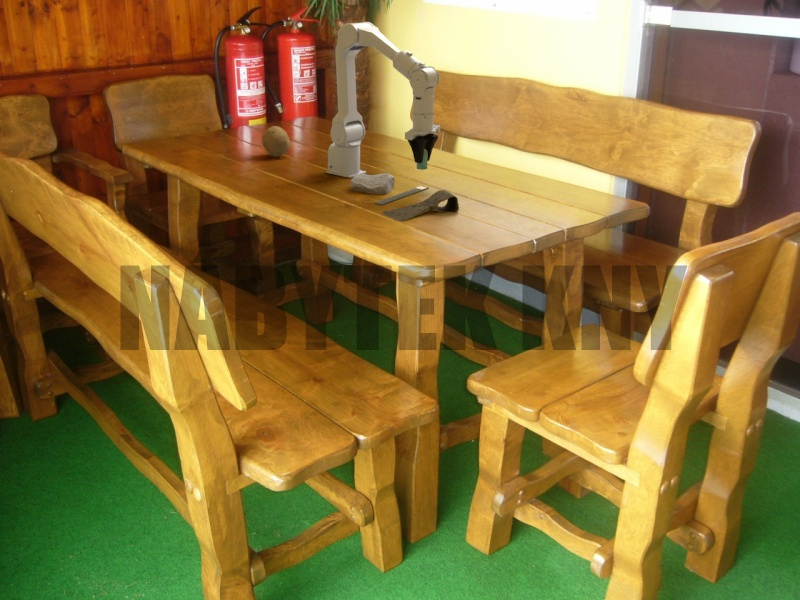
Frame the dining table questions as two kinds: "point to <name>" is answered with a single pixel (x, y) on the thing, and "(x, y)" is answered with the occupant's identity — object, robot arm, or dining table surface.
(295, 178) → the dining table surface
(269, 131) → the brown oval lump
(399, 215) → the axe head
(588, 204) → the dining table surface
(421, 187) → the bar
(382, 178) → the stone block
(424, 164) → the teal cylinder cream end
